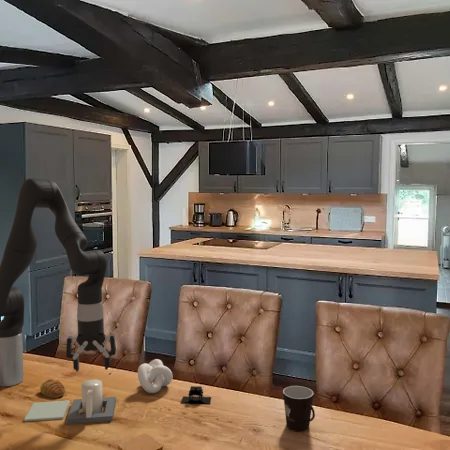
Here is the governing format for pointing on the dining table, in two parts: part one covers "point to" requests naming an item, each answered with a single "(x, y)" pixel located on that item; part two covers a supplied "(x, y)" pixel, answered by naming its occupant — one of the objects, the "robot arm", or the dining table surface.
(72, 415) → the socket
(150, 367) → the white knot sculpture
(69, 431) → the dining table surface
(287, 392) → the coffee mug
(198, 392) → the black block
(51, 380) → the pastry
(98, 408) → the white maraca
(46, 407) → the trivet
